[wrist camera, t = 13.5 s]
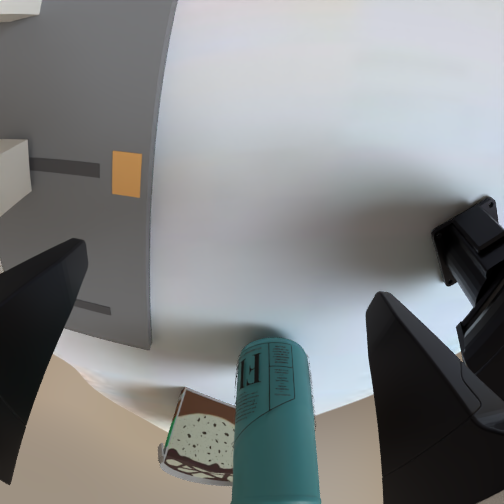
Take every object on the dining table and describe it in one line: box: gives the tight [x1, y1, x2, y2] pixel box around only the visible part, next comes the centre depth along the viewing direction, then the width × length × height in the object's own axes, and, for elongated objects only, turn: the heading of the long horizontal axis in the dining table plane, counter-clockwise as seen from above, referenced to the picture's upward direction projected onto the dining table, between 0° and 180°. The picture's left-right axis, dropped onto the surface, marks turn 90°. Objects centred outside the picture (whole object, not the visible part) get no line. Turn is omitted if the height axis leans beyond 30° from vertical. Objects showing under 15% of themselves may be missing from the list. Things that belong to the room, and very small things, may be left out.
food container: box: [158, 387, 236, 486], centre depth 32 cm, size 12×6×10 cm, turn 54°
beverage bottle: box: [231, 337, 321, 504], centre depth 21 cm, size 6×7×20 cm
